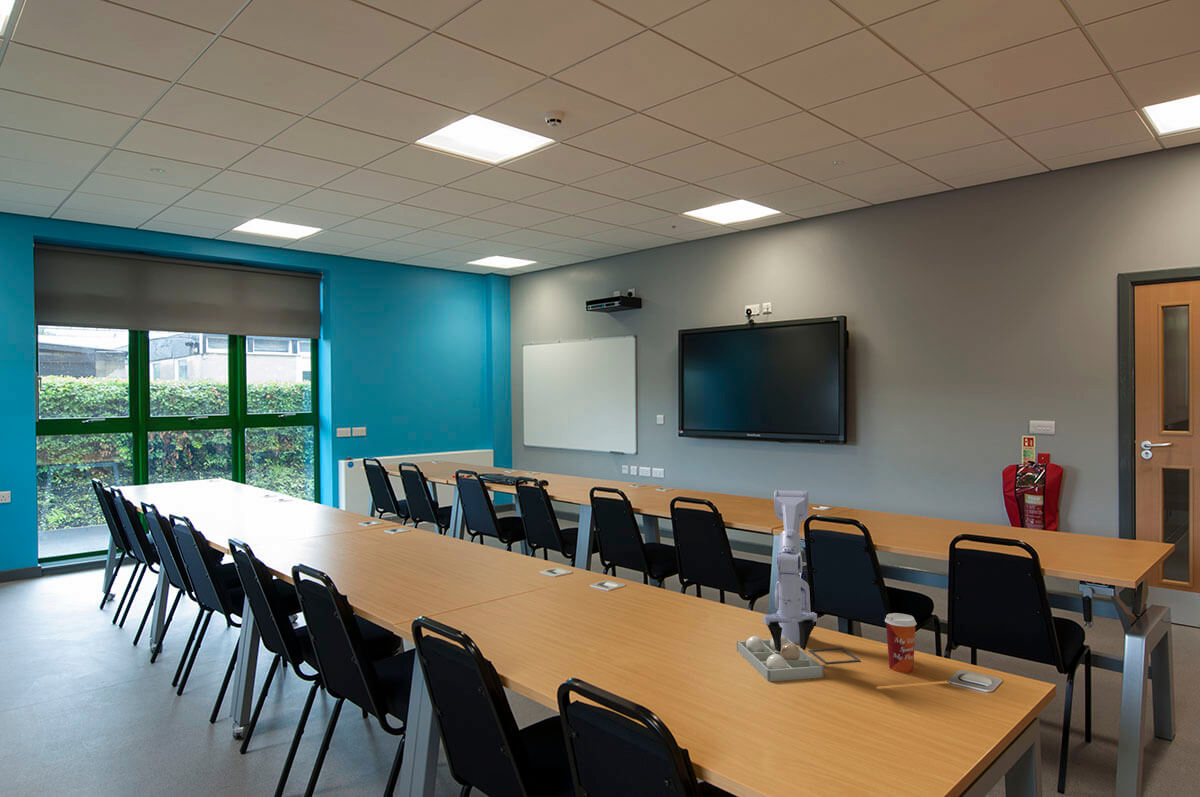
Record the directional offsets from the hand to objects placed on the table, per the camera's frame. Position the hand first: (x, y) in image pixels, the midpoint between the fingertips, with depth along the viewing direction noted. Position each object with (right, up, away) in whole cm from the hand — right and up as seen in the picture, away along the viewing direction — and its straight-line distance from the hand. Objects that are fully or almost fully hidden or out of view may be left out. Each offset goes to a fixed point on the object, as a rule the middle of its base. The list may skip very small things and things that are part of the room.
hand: (790, 649), depth 186 cm
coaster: (+13, -4, +4) cm, 14 cm away
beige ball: (0, -3, 0) cm, 3 cm away
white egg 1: (-8, -4, +6) cm, 11 cm away
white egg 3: (-6, -3, -8) cm, 11 cm away
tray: (-3, -4, -1) cm, 6 cm away
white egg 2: (-1, -4, +7) cm, 8 cm away
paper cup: (+28, -4, -5) cm, 28 cm away
